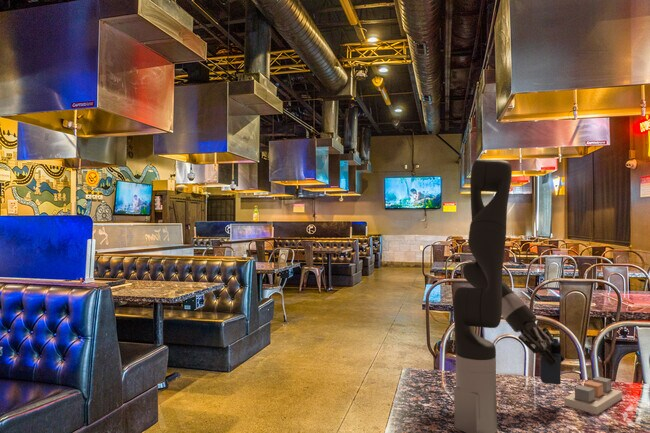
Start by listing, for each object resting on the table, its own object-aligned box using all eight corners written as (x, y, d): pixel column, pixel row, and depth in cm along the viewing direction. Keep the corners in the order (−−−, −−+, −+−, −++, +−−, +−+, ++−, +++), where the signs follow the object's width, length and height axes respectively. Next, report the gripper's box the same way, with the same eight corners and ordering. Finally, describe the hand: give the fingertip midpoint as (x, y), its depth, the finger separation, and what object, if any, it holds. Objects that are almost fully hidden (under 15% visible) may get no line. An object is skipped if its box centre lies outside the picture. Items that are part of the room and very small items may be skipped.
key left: (589, 402, 116) (588, 391, 116) (574, 398, 118) (574, 387, 119) (594, 399, 118) (594, 388, 118) (580, 395, 121) (580, 385, 121)
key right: (606, 392, 123) (606, 381, 123) (592, 388, 126) (592, 378, 126) (611, 389, 125) (611, 379, 126) (597, 386, 128) (597, 376, 128)
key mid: (598, 397, 120) (597, 386, 120) (584, 393, 122) (583, 383, 122) (603, 394, 122) (602, 383, 122) (589, 390, 124) (589, 380, 125)
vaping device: (562, 385, 120) (562, 340, 121) (542, 383, 121) (541, 339, 122) (559, 382, 122) (559, 338, 123) (539, 380, 123) (539, 337, 124)
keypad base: (596, 414, 113) (596, 406, 113) (564, 405, 119) (564, 397, 119) (622, 398, 124) (622, 391, 124) (591, 390, 131) (591, 383, 131)
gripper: (511, 305, 124) (556, 358, 114) (535, 302, 133) (579, 351, 123) (494, 322, 128) (536, 374, 118) (518, 317, 137) (559, 366, 127)
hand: (558, 362), depth 121 cm, fingers closed on vaping device, 4 cm apart
